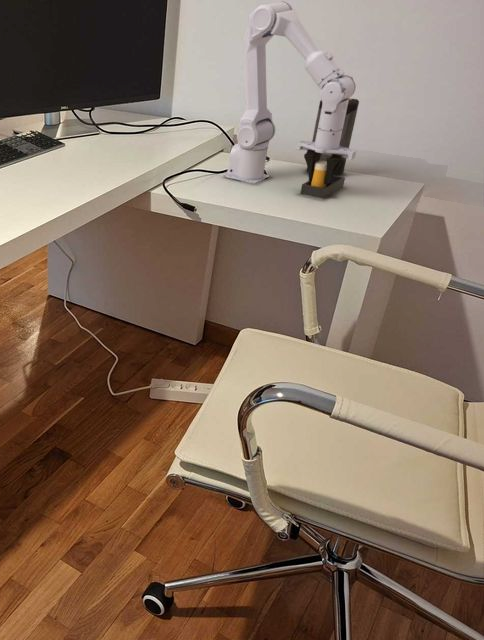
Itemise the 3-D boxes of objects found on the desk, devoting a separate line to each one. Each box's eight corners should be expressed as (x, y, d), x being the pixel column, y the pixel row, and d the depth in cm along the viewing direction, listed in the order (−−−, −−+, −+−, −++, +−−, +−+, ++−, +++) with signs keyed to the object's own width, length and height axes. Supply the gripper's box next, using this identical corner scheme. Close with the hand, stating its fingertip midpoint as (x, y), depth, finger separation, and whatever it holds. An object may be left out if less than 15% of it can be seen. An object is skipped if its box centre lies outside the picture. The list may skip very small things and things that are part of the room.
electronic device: (304, 174, 188) (319, 101, 177) (309, 168, 192) (323, 96, 181) (340, 178, 184) (356, 103, 173) (344, 172, 188) (360, 98, 177)
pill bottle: (306, 193, 174) (312, 163, 170) (313, 189, 176) (319, 159, 172) (320, 196, 172) (326, 165, 168) (327, 192, 174) (333, 162, 170)
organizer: (299, 194, 175) (302, 184, 173) (320, 183, 181) (322, 173, 180) (322, 200, 171) (324, 189, 169) (342, 188, 177) (345, 177, 176)
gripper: (294, 127, 168) (285, 179, 175) (352, 136, 159) (339, 191, 166) (308, 121, 172) (298, 173, 179) (364, 130, 162) (352, 184, 170)
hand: (319, 181), depth 173 cm, fingers closed on pill bottle, 3 cm apart
